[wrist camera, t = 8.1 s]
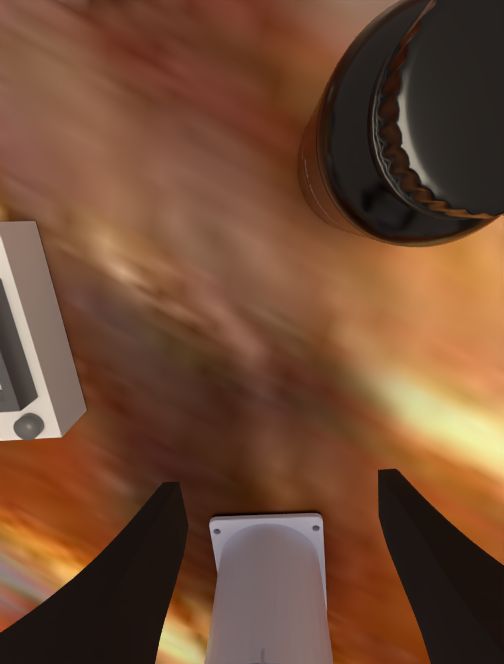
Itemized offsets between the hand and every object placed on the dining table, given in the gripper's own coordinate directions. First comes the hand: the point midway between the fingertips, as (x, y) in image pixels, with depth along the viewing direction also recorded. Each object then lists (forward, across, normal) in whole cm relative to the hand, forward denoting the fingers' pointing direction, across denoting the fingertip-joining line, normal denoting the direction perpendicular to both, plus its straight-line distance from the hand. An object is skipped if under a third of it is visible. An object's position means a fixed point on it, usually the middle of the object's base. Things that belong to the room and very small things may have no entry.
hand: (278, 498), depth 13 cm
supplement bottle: (+10, -6, -12) cm, 16 cm away
